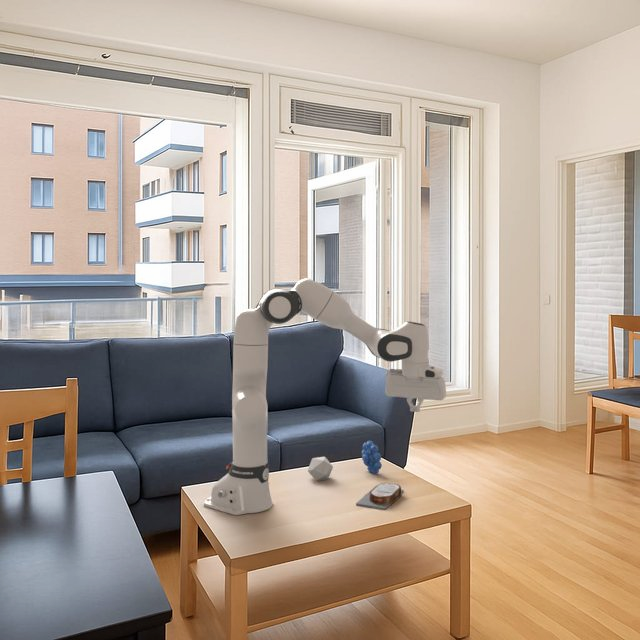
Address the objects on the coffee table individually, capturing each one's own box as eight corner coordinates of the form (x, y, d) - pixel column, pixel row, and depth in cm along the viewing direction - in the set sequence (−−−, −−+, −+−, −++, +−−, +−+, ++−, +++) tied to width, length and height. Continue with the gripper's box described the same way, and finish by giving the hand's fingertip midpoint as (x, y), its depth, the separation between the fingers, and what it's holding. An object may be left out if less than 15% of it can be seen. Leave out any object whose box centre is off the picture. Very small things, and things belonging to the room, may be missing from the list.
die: (327, 475, 234) (311, 455, 234) (341, 469, 229) (325, 448, 229) (315, 488, 228) (299, 468, 228) (329, 482, 223) (313, 461, 223)
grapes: (353, 470, 239) (353, 439, 238) (368, 467, 242) (368, 437, 241) (370, 478, 229) (370, 446, 228) (385, 475, 232) (385, 444, 231)
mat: (356, 505, 202) (356, 503, 202) (376, 487, 219) (376, 485, 219) (385, 509, 198) (385, 508, 197) (403, 491, 215) (403, 489, 215)
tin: (404, 491, 213) (381, 489, 216) (404, 482, 213) (380, 480, 216) (390, 506, 199) (365, 503, 203) (389, 496, 199) (365, 494, 203)
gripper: (382, 369, 208) (382, 410, 209) (442, 373, 199) (442, 415, 200) (388, 367, 214) (388, 406, 215) (447, 370, 205) (447, 412, 206)
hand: (415, 411), depth 208 cm, fingers closed
